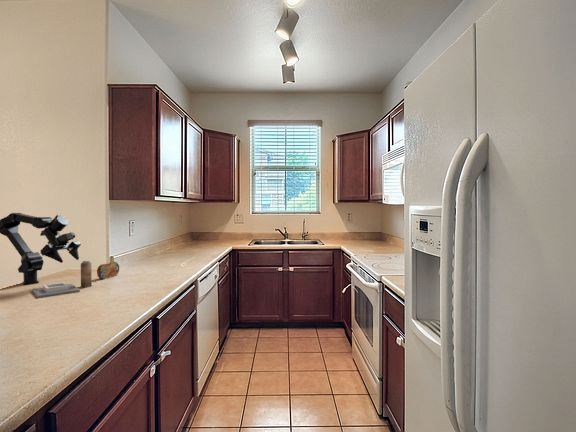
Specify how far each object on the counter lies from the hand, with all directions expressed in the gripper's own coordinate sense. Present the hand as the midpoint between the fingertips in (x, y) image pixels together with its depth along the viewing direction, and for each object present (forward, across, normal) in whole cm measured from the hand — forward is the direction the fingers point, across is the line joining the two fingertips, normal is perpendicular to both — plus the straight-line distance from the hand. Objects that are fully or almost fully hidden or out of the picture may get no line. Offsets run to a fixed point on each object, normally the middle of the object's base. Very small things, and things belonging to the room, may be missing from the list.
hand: (70, 260), depth 166 cm
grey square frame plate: (+12, -10, +7) cm, 17 cm away
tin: (+11, +23, +7) cm, 26 cm away
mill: (+15, +2, +2) cm, 15 cm away
